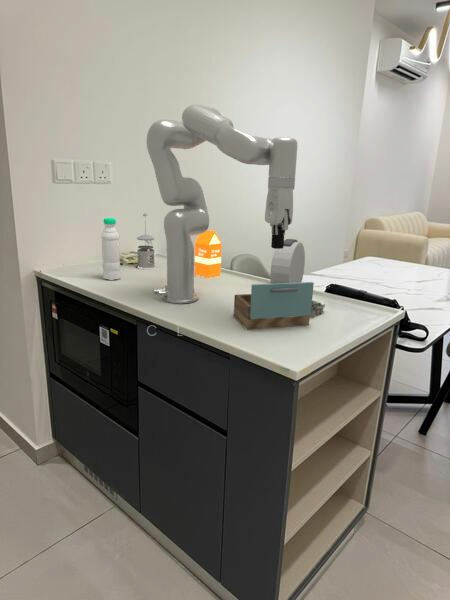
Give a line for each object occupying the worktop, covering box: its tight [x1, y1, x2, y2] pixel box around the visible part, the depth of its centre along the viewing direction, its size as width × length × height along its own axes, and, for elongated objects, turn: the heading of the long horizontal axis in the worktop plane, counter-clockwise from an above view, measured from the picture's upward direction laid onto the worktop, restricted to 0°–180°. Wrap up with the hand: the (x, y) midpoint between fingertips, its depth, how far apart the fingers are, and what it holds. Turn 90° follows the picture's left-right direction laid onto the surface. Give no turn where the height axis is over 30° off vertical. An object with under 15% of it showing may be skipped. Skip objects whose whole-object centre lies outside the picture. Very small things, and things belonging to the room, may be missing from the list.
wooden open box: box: [233, 293, 311, 330], centre depth 138 cm, size 20×13×7 cm, turn 107°
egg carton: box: [310, 299, 326, 319], centre depth 147 cm, size 11×8×4 cm
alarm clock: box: [270, 238, 306, 284], centre depth 176 cm, size 21×8×20 cm, turn 155°
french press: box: [136, 212, 157, 268], centre depth 206 cm, size 10×12×25 cm
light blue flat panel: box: [250, 281, 315, 319], centre depth 129 cm, size 19×2×10 cm, turn 107°
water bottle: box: [100, 217, 122, 279], centre depth 181 cm, size 7×7×25 cm
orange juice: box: [194, 229, 223, 279], centre depth 193 cm, size 8×9×20 cm
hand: (277, 247), depth 131 cm, fingers closed
